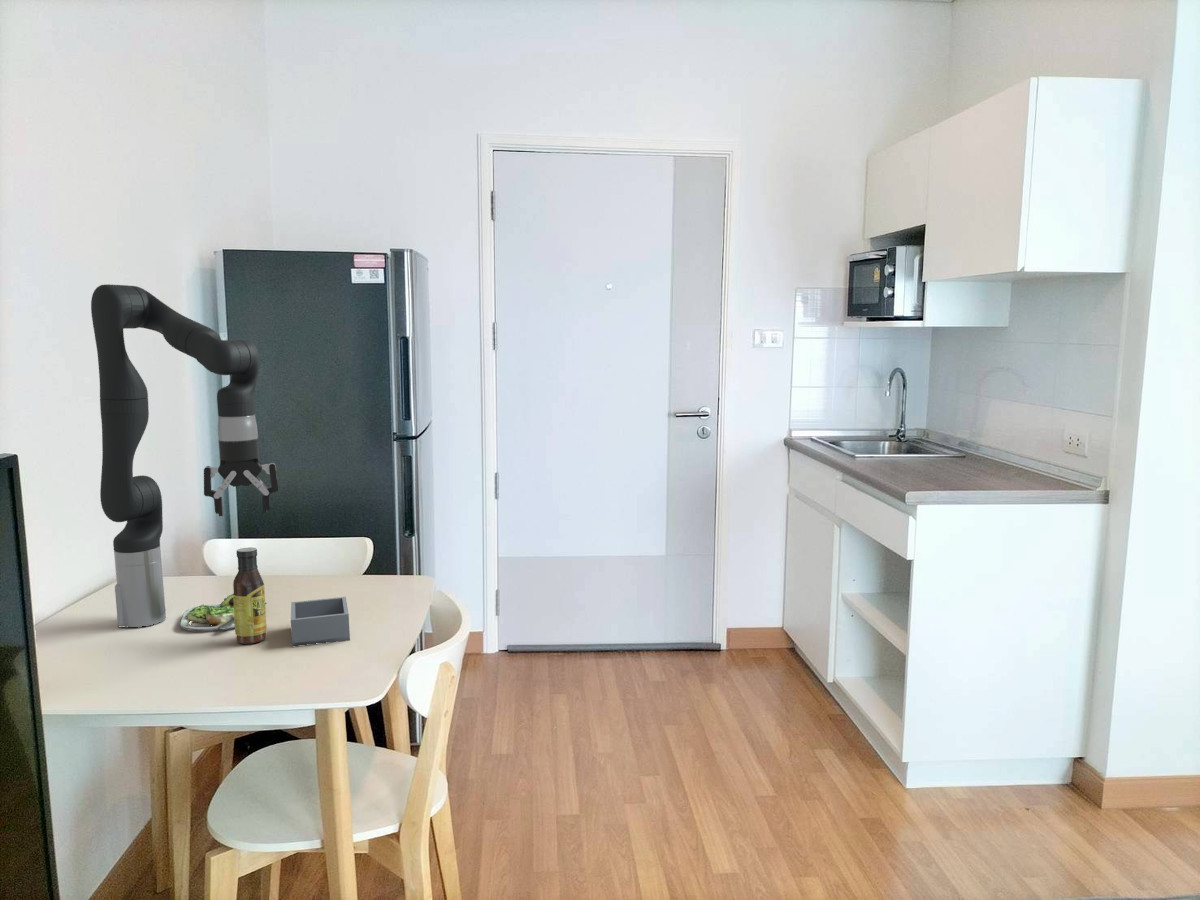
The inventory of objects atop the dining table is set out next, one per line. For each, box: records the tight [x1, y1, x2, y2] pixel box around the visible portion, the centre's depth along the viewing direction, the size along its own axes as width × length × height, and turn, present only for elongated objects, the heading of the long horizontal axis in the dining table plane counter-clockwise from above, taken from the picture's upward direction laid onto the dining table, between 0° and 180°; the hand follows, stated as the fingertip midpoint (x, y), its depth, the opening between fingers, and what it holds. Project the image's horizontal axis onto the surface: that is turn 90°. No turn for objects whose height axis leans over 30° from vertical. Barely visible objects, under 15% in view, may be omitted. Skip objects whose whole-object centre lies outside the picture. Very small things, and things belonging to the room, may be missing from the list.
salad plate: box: [179, 593, 267, 633], centre depth 196 cm, size 19×18×5 cm
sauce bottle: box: [232, 547, 268, 645], centre depth 183 cm, size 6×6×20 cm
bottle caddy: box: [290, 596, 351, 647], centre depth 187 cm, size 12×13×6 cm
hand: (243, 514), depth 180 cm, fingers open, 8 cm apart
